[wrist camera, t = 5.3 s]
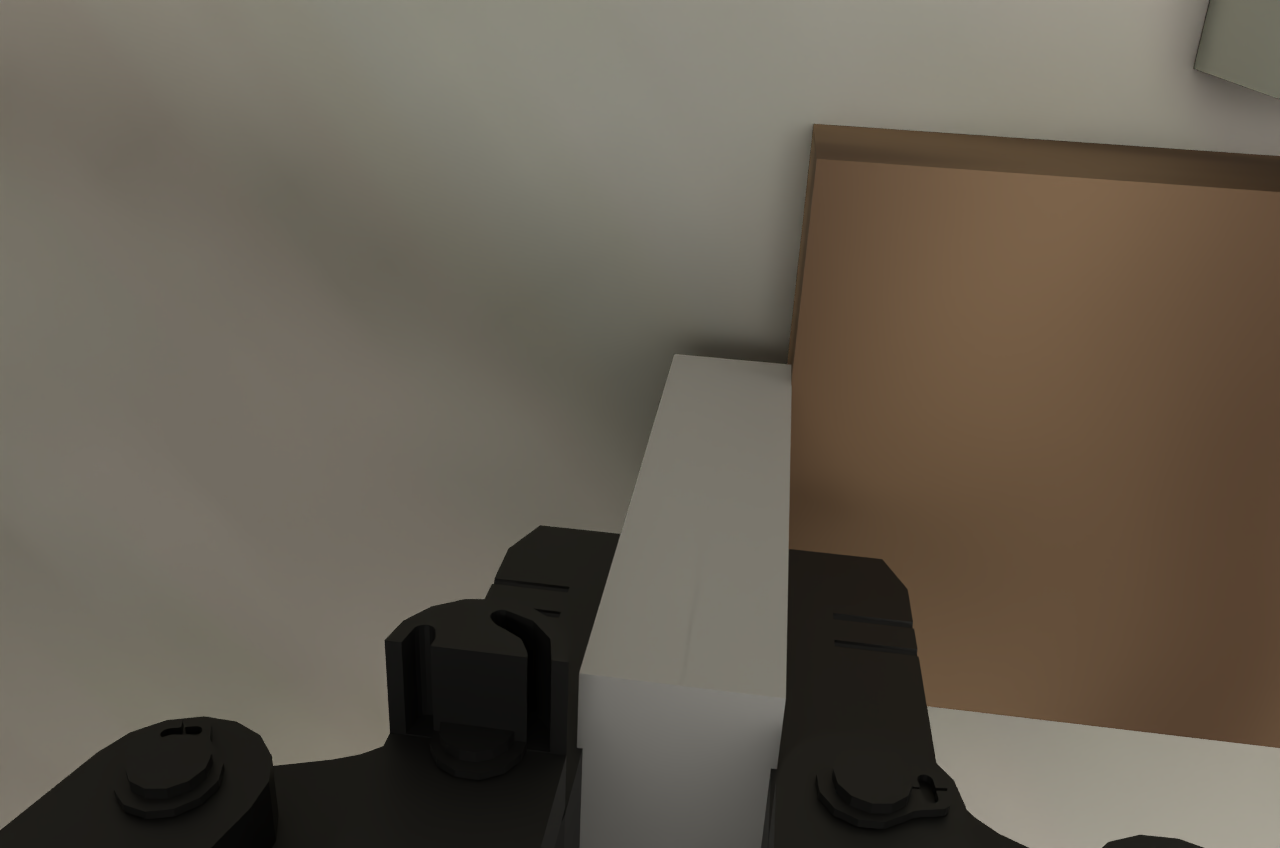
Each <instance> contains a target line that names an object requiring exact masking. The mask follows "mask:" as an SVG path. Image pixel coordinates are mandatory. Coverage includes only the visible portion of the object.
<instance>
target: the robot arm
mask: <svg viewBox="0 0 1280 848" xmlns="http://www.w3.org/2000/svg"><path fill="white" fill-rule="evenodd" d="M791 395H792V386H791V365H789V364H778V363H767V362H756V361H745V360H735V359H724V358H713V357H702V356H691V355H680V354H674V357H673V360H672V363H671V367H670V370H669V373H668V377H667V380H666V384H665V387H664V390H663V394H662V397H661V400H660V404H659V407H658V410H657V414H656V417H655V420H654V424H653V427H652V431H651V434H650V437H649V441H648V444H647V447H646V451H645V454H644V457H643V461H642V464H641V467H640V471H639V474H638V477H637V481H636V484H635V488H634V491H633V494H632V498H631V501H630V504H629V508H628V511H627V514H626V518H625V521H624V524H623V528H622V531H621V534H615V533H605V532H596V531H587V530H578V529H569V528H559V527H550V526H541V525H540V526H539V527H537V528H536V529H535V530H533V531H532V532H531V533H529V534H528V535H527V536H525V537H524V538H522V539H521V540H520V541H518V542H517V543H516V544H514V545H513V546H512V547H510V548H509V549H508V551H507V553H506V555H505V557H504V560H503V562H502V564H501V566H500V568H499V570H498V572H497V574H496V577H495V581H494V584H492V585H491V587H490V589H489V591H488V593H487V596H486V598H485V599H464V600H459V601H455V602H450V603H446V604H441V605H436V606H432V607H430V608H428V609H426V610H424V611H422V612H420V613H418V614H416V615H414V616H412V617H410V618H408V619H406V620H404V621H403V622H402V623H401V624H400V625H399V626H398V627H397V628H396V629H395V630H394V631H393V632H392V633H391V634H390V635H389V636H388V637H387V638H386V640H385V654H386V670H387V687H388V704H389V721H390V734H389V736H388V738H387V740H386V742H385V744H384V746H383V747H380V748H377V749H374V750H372V751H369V752H366V753H363V754H360V755H355V756H349V757H344V758H339V759H334V760H325V761H316V762H306V763H297V764H288V765H279V766H273V763H272V756H271V754H270V752H269V750H268V748H267V747H266V745H265V743H264V741H263V740H262V738H261V736H260V735H259V734H257V733H255V732H253V731H252V730H250V729H248V728H247V727H245V726H243V725H241V724H240V723H238V722H235V721H229V720H223V719H217V718H211V717H194V718H184V719H174V720H166V721H163V722H160V723H157V724H154V725H151V726H148V727H145V728H142V729H139V730H136V731H133V732H130V733H129V734H127V735H125V736H124V737H122V738H120V739H119V740H117V741H115V742H114V743H112V744H111V745H109V746H107V747H106V748H104V749H102V750H101V751H99V752H97V753H96V754H95V755H94V756H92V757H91V758H90V759H89V760H87V761H86V762H85V763H84V764H82V765H81V766H80V767H79V768H77V769H76V770H75V771H74V772H72V773H71V774H70V775H69V776H67V777H66V778H65V779H64V780H62V781H61V782H60V783H59V784H57V785H56V786H55V787H54V788H52V789H51V790H50V791H49V792H47V793H46V794H45V795H44V796H42V797H41V798H40V799H39V800H37V801H36V802H35V803H34V804H32V805H31V806H30V807H29V808H27V809H26V810H25V811H24V812H22V813H21V814H20V815H19V816H17V817H16V818H15V819H14V820H12V821H11V822H10V823H9V824H7V825H6V826H5V827H4V828H2V829H1V830H0V848H1028V847H1026V846H1024V845H1022V844H1020V843H1017V842H1015V841H1013V840H1011V839H1009V838H1007V837H1004V836H1002V835H1000V834H999V833H997V832H996V831H994V830H993V829H991V828H990V827H988V826H987V825H985V824H984V823H982V822H981V821H979V820H978V819H976V818H975V817H974V816H973V815H972V814H971V813H969V812H968V811H967V810H966V807H965V804H964V802H963V800H962V798H961V796H960V793H959V791H958V789H957V787H956V784H955V782H954V780H953V779H952V778H951V777H950V776H949V775H948V774H947V773H946V772H945V771H944V770H943V769H942V768H941V767H940V766H939V765H937V763H936V759H935V753H934V747H933V741H932V735H931V729H930V722H929V716H928V710H927V704H926V698H925V692H924V686H923V680H922V673H921V667H920V661H919V656H917V650H918V649H917V643H916V637H915V631H914V629H913V618H912V612H911V606H910V600H909V594H908V589H907V588H906V587H905V585H904V584H903V583H902V582H901V581H900V580H899V578H898V577H897V576H896V575H895V574H894V572H893V571H892V570H891V569H890V568H889V566H888V565H887V564H886V563H885V562H884V561H883V559H877V558H868V557H859V556H850V555H840V554H831V553H822V552H813V551H804V550H794V549H789V502H790V448H791ZM1102 848H1203V847H1200V846H1197V845H1195V844H1192V843H1189V842H1186V841H1183V840H1181V839H1176V838H1166V837H1156V836H1146V835H1137V836H1133V837H1128V838H1124V839H1120V840H1115V841H1111V842H1108V843H1107V844H1106V845H1105V846H1103V847H1102Z"/></svg>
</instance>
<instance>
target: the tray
mask: <svg viewBox="0 0 1280 848" xmlns="http://www.w3.org/2000/svg"><path fill="white" fill-rule="evenodd" d="M1194 69H1196V70H1199V71H1202V72H1205V73H1208V74H1210V75H1213V76H1216V77H1219V78H1222V79H1224V80H1227V81H1230V82H1233V83H1235V84H1238V85H1241V86H1244V87H1247V88H1249V89H1252V90H1255V91H1258V92H1261V93H1263V94H1266V95H1269V96H1272V97H1275V98H1277V99H1280V0H1210V3H1209V7H1208V12H1207V16H1206V20H1205V24H1204V28H1203V32H1202V36H1201V41H1200V45H1199V49H1198V53H1197V57H1196V61H1195V65H1194Z"/></svg>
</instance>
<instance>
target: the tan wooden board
mask: <svg viewBox="0 0 1280 848" xmlns="http://www.w3.org/2000/svg"><path fill="white" fill-rule="evenodd" d="M787 364H789V365H791V386H792V395H791V448H790V502H789V549H794V550H804V551H813V552H822V553H831V554H840V555H850V556H859V557H868V558H877V559H883V561H884V562H885V563H886V564H887V565H888V566H889V568H890V569H891V570H892V571H893V572H894V574H895V575H896V576H897V577H898V578H899V580H900V581H901V582H902V583H903V584H904V585H905V587H906V588H907V589H908V594H909V600H910V606H911V612H912V618H913V629H914V631H915V637H916V643H917V649H918V650H917V656H919V661H920V667H921V673H922V680H923V686H924V692H925V698H926V704H927V706H931V707H939V708H948V709H956V710H965V711H973V712H982V713H990V714H998V715H1007V716H1015V717H1024V718H1032V719H1040V720H1049V721H1057V722H1066V723H1074V724H1083V725H1091V726H1099V727H1108V728H1116V729H1125V730H1133V731H1141V732H1150V733H1158V734H1167V735H1175V736H1184V737H1192V738H1200V739H1209V740H1217V741H1226V742H1234V743H1242V744H1251V745H1259V746H1268V747H1276V748H1280V156H1270V155H1256V154H1241V153H1227V152H1212V151H1198V150H1183V149H1169V148H1154V147H1140V146H1126V145H1111V144H1097V143H1082V142H1068V141H1053V140H1039V139H1024V138H1010V137H996V136H981V135H967V134H952V133H938V132H923V131H909V130H895V129H880V128H866V127H851V126H837V125H822V124H814V125H813V134H812V143H811V152H810V161H809V170H808V179H807V188H806V197H805V206H804V216H803V225H802V234H801V243H800V252H799V261H798V270H797V279H796V288H795V297H794V306H793V315H792V324H791V333H790V342H789V351H788V360H787Z"/></svg>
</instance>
